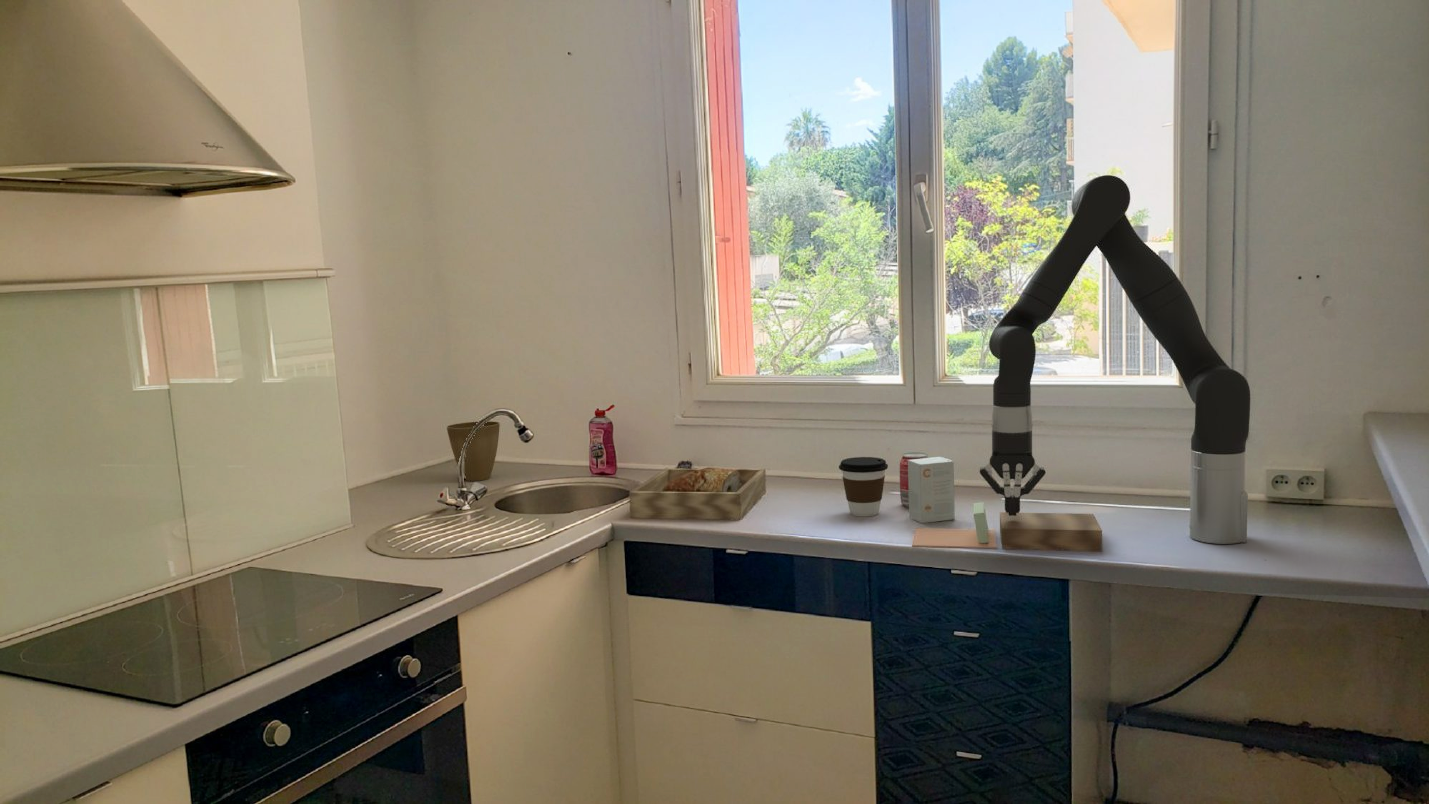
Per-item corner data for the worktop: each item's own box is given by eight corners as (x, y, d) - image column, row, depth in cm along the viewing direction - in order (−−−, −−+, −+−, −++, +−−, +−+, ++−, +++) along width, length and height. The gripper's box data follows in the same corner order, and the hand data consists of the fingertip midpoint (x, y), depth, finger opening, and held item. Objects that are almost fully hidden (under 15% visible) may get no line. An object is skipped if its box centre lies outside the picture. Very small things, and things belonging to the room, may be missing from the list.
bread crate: (766, 492, 246) (765, 468, 246) (741, 519, 219) (740, 493, 218) (666, 491, 253) (665, 468, 252) (630, 517, 226) (629, 492, 225)
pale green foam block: (983, 502, 198) (973, 503, 198) (983, 512, 189) (973, 513, 190) (988, 530, 198) (978, 531, 199) (988, 542, 190) (978, 543, 190)
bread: (714, 519, 221) (712, 476, 220) (646, 514, 230) (643, 472, 228) (752, 500, 239) (750, 460, 238) (687, 495, 248) (685, 457, 246)
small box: (941, 513, 217) (940, 456, 215) (955, 520, 211) (954, 460, 209) (908, 517, 215) (907, 459, 213) (921, 523, 209) (920, 464, 207)
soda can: (935, 503, 226) (934, 452, 225) (925, 510, 220) (924, 458, 219) (906, 501, 230) (905, 451, 229) (895, 507, 224) (894, 456, 222)
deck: (1093, 533, 195) (1093, 513, 194) (1102, 551, 182) (1102, 530, 182) (999, 531, 199) (999, 512, 199) (1002, 548, 187) (1001, 528, 187)
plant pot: (511, 478, 280) (507, 423, 278) (460, 486, 272) (455, 429, 270) (493, 471, 292) (489, 418, 290) (444, 478, 284) (440, 424, 282)
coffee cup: (887, 506, 225) (885, 455, 224) (890, 518, 214) (889, 464, 213) (839, 507, 226) (838, 457, 225) (841, 519, 215) (839, 466, 214)
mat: (994, 531, 200) (994, 529, 200) (996, 548, 187) (996, 547, 187) (915, 529, 204) (915, 528, 204) (912, 546, 191) (912, 545, 191)
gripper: (1046, 425, 192) (1046, 511, 194) (976, 425, 195) (977, 509, 197) (1049, 431, 185) (1049, 520, 187) (977, 431, 188) (977, 518, 190)
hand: (1012, 514), depth 192 cm, fingers closed
